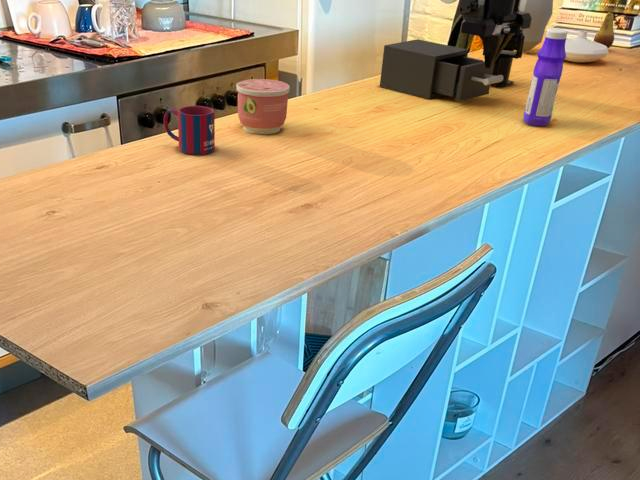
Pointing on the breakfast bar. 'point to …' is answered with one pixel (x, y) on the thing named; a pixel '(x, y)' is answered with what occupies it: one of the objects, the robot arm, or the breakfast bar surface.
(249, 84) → the container
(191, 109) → the mug
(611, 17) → the fruit
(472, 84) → the pull-out drawer box
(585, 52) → the vase
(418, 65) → the dark drawer cabinet casing
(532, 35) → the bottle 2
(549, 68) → the bottle
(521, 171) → the breakfast bar surface
